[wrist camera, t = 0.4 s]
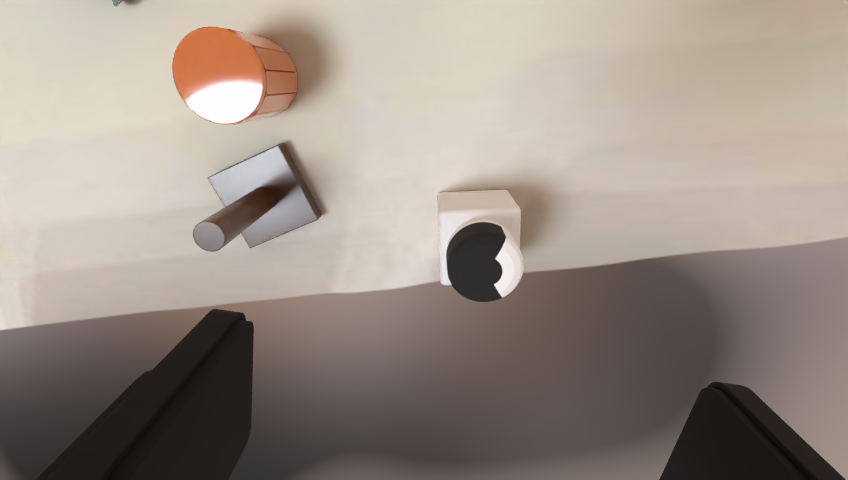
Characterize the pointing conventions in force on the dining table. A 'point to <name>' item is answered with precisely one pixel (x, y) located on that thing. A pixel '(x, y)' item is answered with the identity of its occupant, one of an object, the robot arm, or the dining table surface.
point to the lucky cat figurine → (117, 2)
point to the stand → (257, 201)
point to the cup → (233, 75)
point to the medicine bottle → (479, 243)
